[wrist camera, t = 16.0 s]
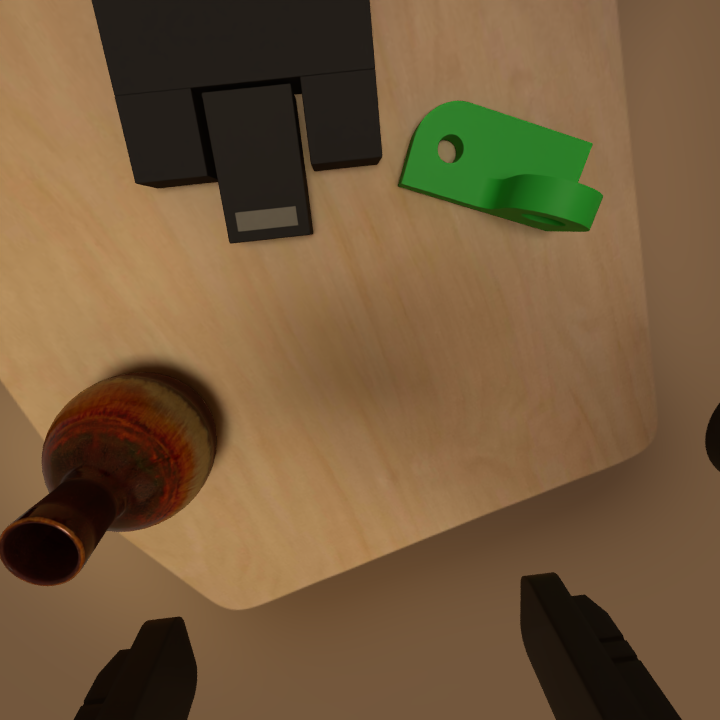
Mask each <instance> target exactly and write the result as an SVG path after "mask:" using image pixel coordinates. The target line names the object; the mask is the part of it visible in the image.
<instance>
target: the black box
mask: <svg viewBox="0 0 720 720" xmlns="http://www.w3.org/2000/svg"><path fill="white" fill-rule="evenodd" d="M202 98H203V104H204V109H205V114H206V120H207V125H208V130H209V136H210V141H211V146H212V152H213V157H214V162H215V168H216V173H217V178H218V184H219V189H220V194H221V200H222V205H223V210H224V216H225V221H226V226H227V232H228V237H229V242H230V243H240V242H249V241H258V240H267V239H276V238H285V237H294V236H303V235H311V234H313V226H312V219H311V211H310V203H309V196H308V188H307V180H306V173H305V165H304V158H303V150H302V142H301V135H300V127H299V119H298V112H297V104H296V99H295V96H294V93H293V90H292V87H291V84H280V85H271V86H261V87H252V88H242V89H233V90H223V91H214V92H204V93H202Z"/></svg>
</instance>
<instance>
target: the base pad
mask: <svg viewBox="0 0 720 720" xmlns="http://www.w3.org/2000/svg"><path fill="white" fill-rule="evenodd" d="M92 4H93V8H94V12H95V16H96V20H97V25H98V29H99V33H100V37H101V41H102V45H103V50H104V54H105V58H106V62H107V66H108V70H109V75H110V79H111V83H112V87H113V91H114V95H115V100H116V104H117V108H118V112H119V116H120V121H121V125H122V129H123V133H124V137H125V141H126V146H127V150H128V154H129V158H130V162H131V166H132V171H133V175H134V179H135V183H136V184H140V185H145V186H149V187H154V188H165V187H175V186H184V185H193V184H202V183H211V182H218V178H217V173H216V168H215V162H214V157H213V152H212V146H211V141H210V136H209V130H208V125H207V120H206V114H205V109H204V104H203V98H202V93H204V92H214V91H223V90H233V89H242V88H252V87H261V86H271V85H280V84H291V87H292V90H293V93H294V94H299V93H302V97H303V105H304V113H305V121H306V129H307V137H308V144H309V152H310V160H311V165H312V167H313V169H314V171H322V170H331V169H340V168H349V167H358V166H368V165H377V164H378V163H379V161H380V159H381V158H382V147H381V135H380V123H379V110H378V98H377V86H376V74H375V62H374V49H373V37H372V25H371V13H370V1H369V0H92Z"/></svg>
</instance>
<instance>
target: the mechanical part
mask: <svg viewBox="0 0 720 720" xmlns="http://www.w3.org/2000/svg"><path fill="white" fill-rule="evenodd" d="M441 140H448V141H450V142H451V143H452V144H453V145H454V146H455V149H456V157H455V160H454V162H453V163H446V162H444V161H442V160H441V159H440V157H439V155H438V144H439V142H440V141H441ZM592 145H593V143H590V142H587V141H584V140H581V139H578V138H575V137H572V136H569V135H566V134H563V133H560V132H557V131H554V130H551V129H548V128H545V127H542V126H539V125H536V124H533V123H530V122H527V121H524V120H521V119H518V118H515V117H512V116H509V115H506V114H503V113H500V112H497V111H494V110H491V109H488V108H485V107H482V106H479V105H476V104H473V103H469V102H465V101H452V102H447V103H444V104H442V105H440V106H438V107H436V108H435V109H433V110H432V111H431V112H430V113H429V114H428V115H427V116H426V117H425V118H424V119H423V120H422V122H421V123H420V124H419V126H418V127H417V128H416V130H415V132H414V133H413V136H412V138H411V141H410V144H409V148H408V151H407V155H406V158H405V162H404V166H403V169H402V173H401V176H400V180H399V184H398V186H399V187H402V188H405V189H409V190H412V191H415V192H418V193H422V194H425V195H428V196H432V197H435V198H438V199H442V200H445V201H448V202H452V203H455V204H458V205H461V206H465V207H468V208H471V209H475V210H478V211H481V212H485V213H488V214H491V215H495V216H498V217H501V218H504V219H508V220H511V221H514V222H518V223H521V224H524V225H528V226H531V227H534V228H538V229H541V230H544V231H571V232H586V231H589V230H590V228H591V225H592V223H593V220H594V218H595V215H596V213H597V210H598V208H599V206H600V203H601V201H602V198H603V195H602V194H601V193H600V192H598V191H597V190H595V189H593V188H590V187H588V186H585V185H583V184H580V183H578V181H579V178H580V176H581V173H582V171H583V168H584V165H585V163H586V160H587V158H588V155H589V152H590V150H591V147H592Z"/></svg>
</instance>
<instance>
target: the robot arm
mask: <svg viewBox="0 0 720 720" xmlns="http://www.w3.org/2000/svg"><path fill="white" fill-rule="evenodd" d="M520 619H521V620H520V621H521V622H520V624H521V633H522V638H523V642H524V646H525V649H526V652H527V655H528V657H529V659H530V662H531V664H532V666H533V669H534V670H535V673H536V675H537V678H538V680H539V682H540V684H541V687H542V689H543V691H544V694H545V696H546V698H547V700H548V703H549V705H550V707H551V709H552V712H553V714H554V716H555V718H556V720H682V719H681V718H680V717H679V715H678V714H677V712H676V711H675V709H674V708H673V706H672V705H671V704H670V702H669V701H668V699H667V698H666V696H665V695H664V694H663V692H662V691H661V689H660V688H659V686H658V685H657V683H656V682H655V681H654V679H653V678H652V676H651V675H650V674H649V672H648V671H647V669H646V668H645V666H644V665H643V663H642V662H641V661H640V660H638V658H637V655H636V654H635V652H634V650H633V649H632V648H631V646H630V645H629V643H628V642H627V641H625V640H624V638H623V635H622V633H621V632H620V630H619V629H618V628H617V626H616V625H615V623H614V622H613V621H612V619H611V618H610V616H609V615H608V613H607V612H606V611H604V610H603V609H602V608H601V607H599V606H598V605H597V604H596V603H594V602H593V601H592V600H591V599H590V598H588V597H587V596H586V595H578V596H571V595H570V593H569V592H568V590H567V589H566V587H565V585H564V584H563V582H562V581H561V579H560V578H559V576H558V575H557V574H556V573H554V572H552V573H545V574H536V575H528V576H522V578H521V614H520ZM196 685H197V665H196V661H195V657H194V654H193V650H192V647H191V643H190V640H189V637H188V633H187V630H186V626H185V623H184V620H183V619H182V617H172V618H164V619H156V620H148V621H146V622H145V623H144V624H143V625H142V627H141V629H140V631H139V633H138V635H137V637H136V639H135V641H134V643H133V645H132V647H131V649H126V650H120V651H119V652H118V653H117V654H116V655H115V656H114V657H113V658H112V659H111V660H110V662H109V663H108V664H107V665H106V666H105V667H104V668H103V669H102V670H101V672H100V673H99V674H98V676H97V677H96V679H95V681H94V683H93V685H92V687H91V688H90V690H89V692H88V694H87V696H86V698H85V700H84V705H83V706H81V707H80V709H79V711H78V713H77V714H76V716H75V718H74V720H187V718H188V715H189V712H190V708H191V705H192V702H193V699H194V695H195V691H196Z"/></svg>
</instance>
